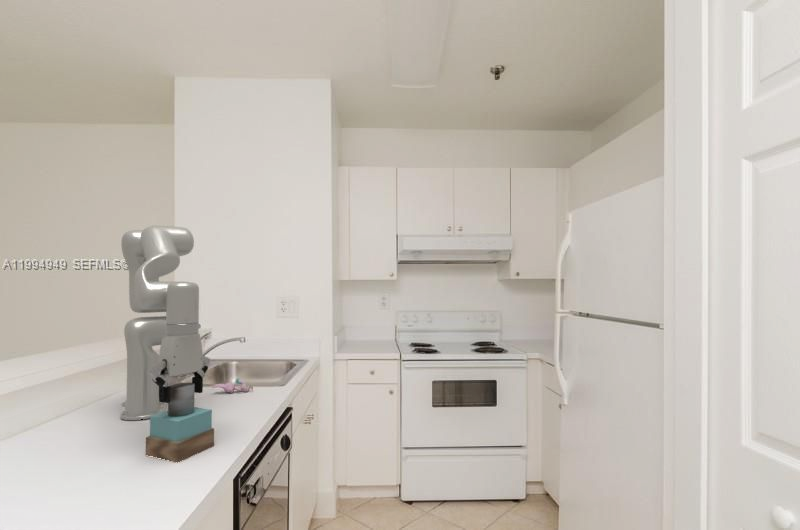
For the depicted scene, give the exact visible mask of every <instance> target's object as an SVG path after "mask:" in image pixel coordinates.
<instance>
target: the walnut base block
mask: <svg viewBox="0 0 800 530" xmlns="http://www.w3.org/2000/svg"><path fill="white" fill-rule="evenodd" d="M214 446H215V428H214V427H212V429H210V430H208V431H205V432H203V433H200V434H198V435H195V436H192V437H190V438H187V439H185V440H182V441H180V442H173V441H169V440H164V439H160V438H155V437H151V436H150V435H148V436H146V437H145V456H146V455H148V456H153V457H157V458H161V459H160V460H162V459H165V460H164V461H167V460H169V461H168V462H171V461H173V462H172V463H176V462H177V464H179V463H181V462H183V461H185V460H187V459H189V457H190V458H192V457H193V455H194V456H196V455H198V454H200V453H202V452H205V451H206V450H209V449H211V448H213V447H214ZM197 453H198V454H197ZM195 454H196V455H195ZM148 456H147V457H148ZM191 456H192V457H191ZM157 458H156V459H157ZM182 460H183V461H182ZM180 461H181V462H180ZM178 462H179V463H178Z"/></svg>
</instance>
